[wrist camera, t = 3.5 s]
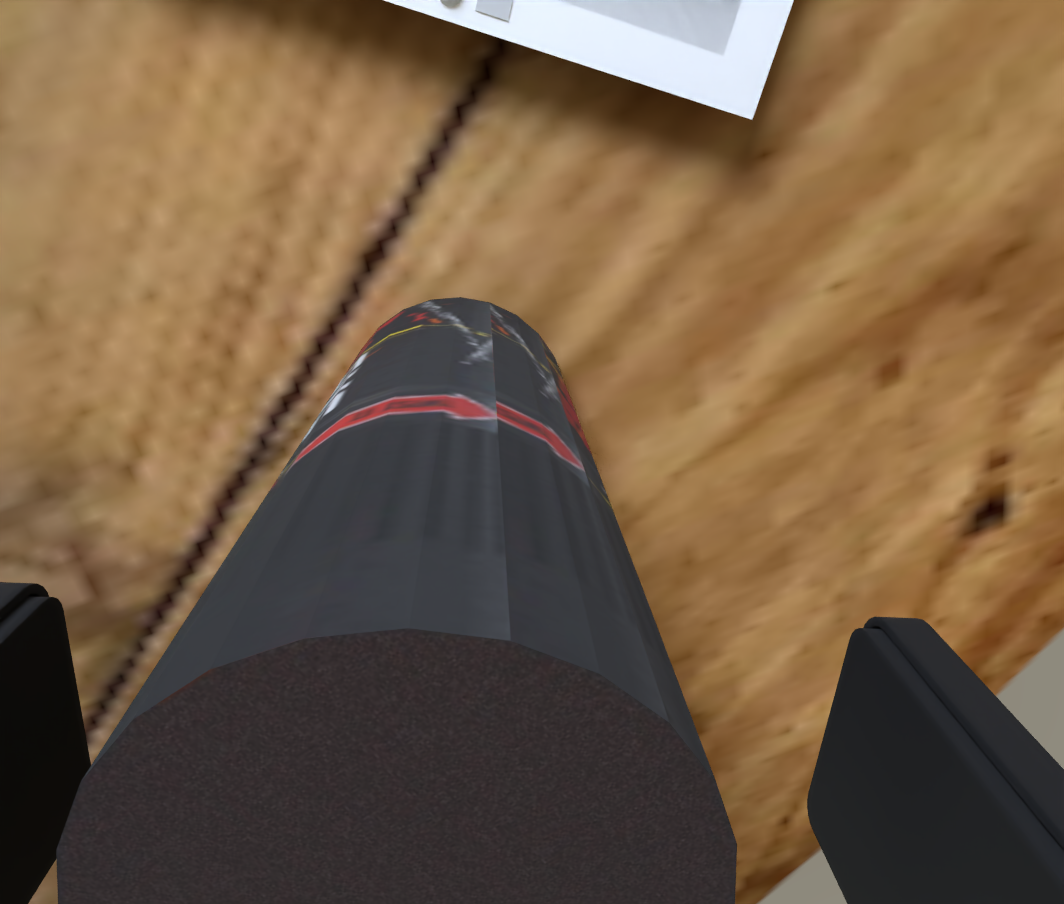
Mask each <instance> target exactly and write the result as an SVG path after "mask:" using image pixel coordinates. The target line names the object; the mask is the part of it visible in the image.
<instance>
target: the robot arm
mask: <svg viewBox="0 0 1064 904" xmlns="http://www.w3.org/2000/svg"><path fill="white" fill-rule="evenodd" d="M90 767H91V763H90V757H89V752H88V746H87V740H86V735H85V729H84V724H83V718H82V712H81V707H80V701H79V695H78V690H77V684H76V678H75V673H74V667H73V662H72V656H71V650H70V645H69V639H68V633H67V628H66V622H65V616H64V611H63V607H62V604H61V602H60V601H59V600H58V599H57V598H54V597H49V595H48V592H47V591H46V590H45V588H44V587H43V586H41V585H39V584H31V583H6V582H0V904H28V903H29V901H30V900H31V898H32V896H33V895H34V893H35V892H36V890H37V889H38V887H39V885H40V884H41V882H42V881H43V879H44V877H45V876H46V874H47V873H48V871H49V870H50V868H51V866H52V865H53V863H54V862H55V860H56V858H57V855H56V849H57V847H58V844H59V841H60V838H61V835H62V833H63V830H64V827H65V824H66V821H67V819H68V816H69V813H70V810H71V807H72V805H73V802H74V799H75V796H76V793H77V791H78V788H79V785H80V782H81V781H82V779H83V777H84V776H85V774H86V773H87V771H88V770H89V768H90ZM807 808H808V816H809V820H810V824H811V827H812V829H813V831H814V834H815V836H816V838H817V840H818V842H819V844H820V846H821V848H822V850H823V853H824V855H825V857H826V859H827V861H828V863H829V865H830V868H831V870H832V872H833V874H834V876H835V878H836V880H837V882H838V885H839V887H840V889H841V891H842V893H843V895H844V897H845V899H846V902H847V904H1064V769H1063V768H1062V767H1061V766H1060V765H1059V764H1058V763H1057V762H1056V761H1055V760H1054V759H1053V757H1052V756H1051V755H1050V754H1049V753H1048V752H1047V751H1046V750H1045V749H1044V748H1043V747H1042V746H1041V745H1040V743H1039V742H1038V741H1037V740H1036V739H1035V738H1034V737H1033V736H1032V735H1031V734H1030V733H1029V732H1028V731H1027V729H1025V727H1024V726H1023V725H1022V724H1021V723H1020V722H1019V721H1018V720H1017V719H1016V718H1015V717H1014V715H1013V714H1012V713H1011V712H1010V711H1009V710H1008V709H1007V708H1006V707H1005V706H1004V705H1003V704H1002V703H1001V701H1000V700H999V699H998V698H997V697H996V696H995V695H994V694H993V693H992V692H991V691H990V690H989V689H988V687H987V686H986V685H985V684H984V683H983V682H982V681H981V680H980V679H979V678H978V677H977V676H976V675H975V673H974V672H973V671H972V670H971V669H970V668H969V667H968V666H967V665H966V664H965V663H964V662H963V661H962V659H961V658H960V657H959V656H958V655H957V654H956V653H955V652H954V651H953V650H952V649H951V648H950V647H949V645H948V644H947V643H946V642H945V641H944V640H943V639H942V638H941V637H940V636H939V635H938V634H937V633H936V631H935V630H934V629H933V628H932V627H931V626H930V625H929V624H928V623H926V622H925V621H924V620H921V619H917V618H892V617H873V618H871V619H869V620H868V621H867V622H866V624H865V625H864V628H858V629H856V630H855V631H854V632H853V633H852V635H851V637H850V640H849V644H848V648H847V651H846V655H845V659H844V663H843V666H842V670H841V674H840V677H839V681H838V685H837V689H836V692H835V696H834V700H833V703H832V707H831V711H830V715H829V718H828V722H827V726H826V730H825V733H824V737H823V741H822V744H821V748H820V752H819V756H818V759H817V763H816V767H815V771H814V774H813V778H812V782H811V785H810V789H809V793H808V799H807Z"/></svg>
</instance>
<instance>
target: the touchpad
mask: <svg viewBox="0 0 1064 904" xmlns="http://www.w3.org/2000/svg"><path fill="white" fill-rule="evenodd" d="M384 1H387V2H390V3H393V4H396V5H399V6H402V7H405V8H408V9H411V10H414V11H417V12H421V13H424V14H427V15H430V16H433V17H436V18H439V19H442V20H445V21H448V22H451V23H455V24H458V25H461V26H464V27H467V28H470V29H473V30H476V31H479V32H482V33H485V34H488V35H492V36H495V37H498V38H501V39H504V40H507V41H510V42H513V43H516V44H519V45H522V46H525V47H529V48H532V49H535V50H538V51H541V52H544V53H547V54H550V55H553V56H556V57H559V58H562V59H566V60H569V61H572V62H575V63H578V64H581V65H584V66H587V67H590V68H593V69H596V70H600V71H603V72H606V73H609V74H612V75H615V76H618V77H621V78H624V79H627V80H630V81H633V82H637V83H640V84H643V85H646V86H649V87H652V88H655V89H658V90H661V91H664V92H667V93H670V94H674V95H677V96H680V97H683V98H686V99H689V100H692V101H695V102H698V103H701V104H704V105H707V106H711V107H714V108H717V109H720V110H723V111H726V112H729V113H732V114H735V115H738V116H741V117H744V118H748V119H751V120H752V119H753V116H754V113H755V111H756V108H757V105H758V102H759V99H760V96H761V93H762V90H763V87H764V85H765V82H766V79H767V76H768V73H769V70H770V67H771V64H772V62H773V59H774V56H775V53H776V50H777V47H778V44H779V41H780V39H781V36H782V33H783V30H784V27H785V24H786V21H787V18H788V15H789V13H790V10H791V7H792V4H793V1H794V0H384Z"/></svg>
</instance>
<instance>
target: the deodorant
mask: <svg viewBox="0 0 1064 904" xmlns="http://www.w3.org/2000/svg"><path fill="white" fill-rule="evenodd" d="M56 855H57V882H58V904H735V884H736V855H737V843H736V840H735V837H734V834H733V831H732V828H731V825H730V822H729V819H728V816H727V813H726V810H725V807H724V804H723V801H722V798H721V795H720V792H719V789H718V787H717V784H716V781H715V778H714V775H713V773H712V770H711V767H710V765H709V762H708V760H707V757H706V754H705V752H704V749H703V746H702V744H701V741H700V739H699V736H698V733H697V731H696V728H695V725H694V723H693V720H692V717H691V715H690V712H689V710H688V707H687V704H686V702H685V699H684V696H683V694H682V691H681V688H680V686H679V683H678V681H677V678H676V675H675V673H674V670H673V667H672V665H671V662H670V660H669V657H668V654H667V652H666V649H665V646H664V644H663V641H662V638H661V636H660V633H659V631H658V628H657V625H656V623H655V620H654V617H653V615H652V612H651V609H650V607H649V604H648V602H647V599H646V596H645V594H644V591H643V588H642V586H641V583H640V581H639V578H638V575H637V573H636V570H635V567H634V565H633V562H632V559H631V557H630V554H629V552H628V549H627V546H626V544H625V541H624V538H623V536H622V533H621V530H620V528H619V525H618V523H617V520H616V517H615V515H614V512H613V509H612V507H611V504H610V502H609V499H608V496H607V494H606V491H605V488H604V486H603V483H602V480H601V478H600V475H599V473H598V470H597V467H596V465H595V462H594V459H593V457H592V454H591V451H590V449H589V446H588V444H587V441H586V438H585V436H584V433H583V430H582V428H581V425H580V423H579V420H578V417H577V415H576V412H575V409H574V407H573V404H572V401H571V399H570V396H569V394H568V391H567V388H566V386H565V383H564V380H563V378H562V375H561V372H560V370H559V367H558V365H557V362H556V359H555V357H554V355H553V354H552V353H551V351H550V350H549V348H548V347H547V345H546V344H545V342H544V341H543V340H542V338H541V337H540V335H539V334H538V333H537V332H536V331H535V330H533V329H532V328H531V327H530V326H529V325H527V324H526V323H525V322H524V321H523V320H522V319H520V318H519V317H518V316H517V315H515V314H513V313H511V312H509V311H506V310H504V309H502V308H500V307H498V306H496V305H494V304H492V303H489V302H483V301H478V300H472V299H467V298H461V297H460V298H448V299H436V300H429V301H426V302H424V303H421V304H418V305H415V306H412V307H410V308H407V309H404V310H402V311H401V312H399V313H398V314H397V315H395V316H394V317H392V318H391V319H390V320H388V321H387V322H385V323H384V324H383V325H381V326H380V327H379V328H378V329H377V331H376V332H375V333H374V334H373V336H372V337H371V338H370V339H369V341H368V342H367V343H366V344H365V346H364V347H363V348H362V349H361V351H360V353H359V354H358V356H357V357H356V359H355V360H354V362H353V363H352V365H351V366H350V368H349V369H348V371H347V373H346V374H345V376H344V377H343V379H342V380H341V382H340V383H339V385H338V386H337V388H336V390H335V391H334V393H333V394H332V396H331V397H330V399H329V400H328V402H327V403H326V405H325V406H324V408H323V410H322V411H321V413H320V414H319V416H318V417H317V419H316V420H315V422H314V423H313V425H312V426H311V428H310V430H309V431H308V433H307V434H306V436H305V437H304V439H303V440H302V442H301V443H300V445H299V446H298V448H297V450H296V451H295V453H294V454H293V456H292V457H291V459H290V460H289V462H288V463H287V465H286V466H285V468H284V470H283V471H282V473H281V474H280V476H279V477H278V479H277V480H276V482H275V483H274V485H273V486H272V488H271V490H270V491H269V493H268V494H267V496H266V497H265V499H264V500H263V502H262V503H261V505H260V506H259V508H258V510H257V511H256V513H255V514H254V516H253V517H252V519H251V520H250V522H249V523H248V525H247V527H246V528H245V530H244V531H243V533H242V534H241V536H240V537H239V539H238V540H237V542H236V543H235V545H234V547H233V548H232V550H231V551H230V553H229V554H228V556H227V557H226V559H225V560H224V562H223V563H222V565H221V567H220V568H219V570H218V571H217V573H216V574H215V576H214V577H213V579H212V580H211V582H210V583H209V585H208V587H207V588H206V590H205V591H204V593H203V594H202V596H201V597H200V599H199V600H198V602H197V603H196V605H195V607H194V608H193V610H192V611H191V613H190V614H189V616H188V617H187V619H186V620H185V622H184V623H183V625H182V627H181V628H180V630H179V631H178V633H177V634H176V636H175V637H174V639H173V640H172V642H171V644H170V645H169V647H168V648H167V650H166V651H165V653H164V654H163V656H162V657H161V659H160V660H159V662H158V664H157V665H156V667H155V668H154V670H153V671H152V673H151V674H150V676H149V677H148V679H147V680H146V682H145V684H144V685H143V687H142V688H141V690H140V691H139V693H138V694H137V696H136V697H135V699H134V700H133V702H132V704H131V705H130V707H129V708H128V710H127V711H126V713H125V714H124V716H123V717H122V719H121V720H120V722H119V724H118V725H117V727H116V728H115V730H114V731H113V733H112V734H111V736H110V737H109V739H108V740H107V742H106V744H105V745H104V747H103V748H102V750H101V751H100V753H99V754H98V756H97V757H96V759H95V760H94V762H93V764H92V765H91V767H90V768H89V770H88V771H87V773H86V774H85V776H84V777H83V779H82V781H81V782H80V785H79V788H78V791H77V793H76V796H75V799H74V802H73V805H72V807H71V810H70V813H69V816H68V819H67V821H66V824H65V827H64V830H63V833H62V835H61V838H60V841H59V844H58V847H57V849H56Z"/></svg>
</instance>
